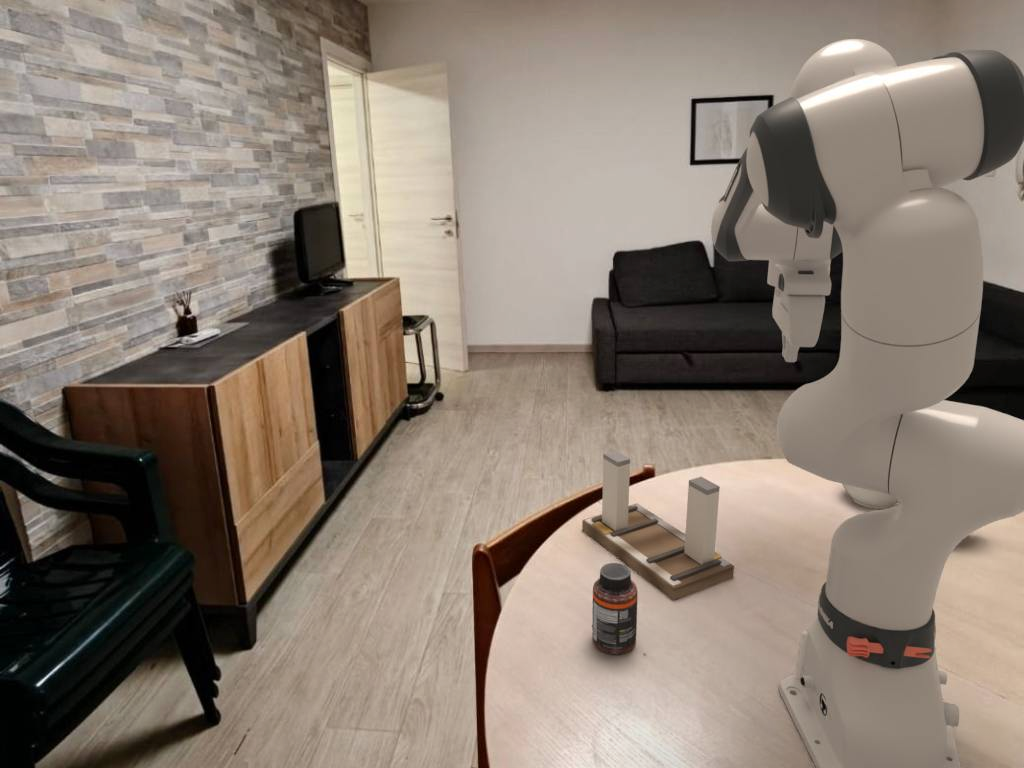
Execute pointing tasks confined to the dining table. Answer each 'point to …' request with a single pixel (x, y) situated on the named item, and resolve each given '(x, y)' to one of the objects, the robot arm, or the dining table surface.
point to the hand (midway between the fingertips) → (789, 359)
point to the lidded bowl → (870, 498)
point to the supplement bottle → (614, 610)
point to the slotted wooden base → (658, 553)
